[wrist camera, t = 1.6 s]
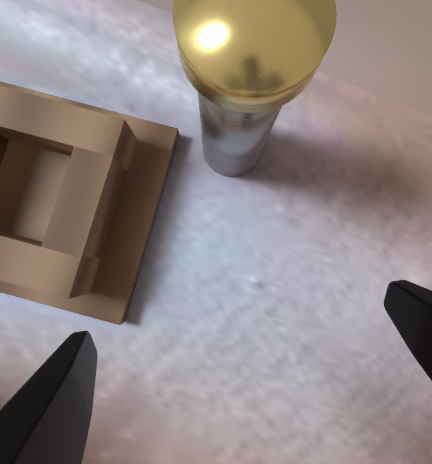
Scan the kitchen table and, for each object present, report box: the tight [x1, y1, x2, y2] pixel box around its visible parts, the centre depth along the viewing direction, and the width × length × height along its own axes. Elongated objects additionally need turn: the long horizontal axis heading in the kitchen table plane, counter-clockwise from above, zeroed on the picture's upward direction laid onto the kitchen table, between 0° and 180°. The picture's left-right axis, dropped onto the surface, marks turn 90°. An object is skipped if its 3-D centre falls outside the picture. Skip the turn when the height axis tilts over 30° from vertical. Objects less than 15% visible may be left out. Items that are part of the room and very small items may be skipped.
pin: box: [173, 0, 336, 177], centre depth 16 cm, size 5×5×12 cm
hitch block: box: [0, 82, 179, 325], centre depth 19 cm, size 16×14×4 cm
